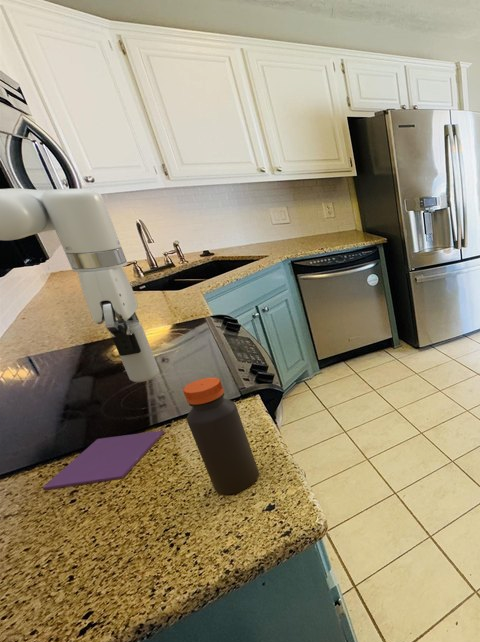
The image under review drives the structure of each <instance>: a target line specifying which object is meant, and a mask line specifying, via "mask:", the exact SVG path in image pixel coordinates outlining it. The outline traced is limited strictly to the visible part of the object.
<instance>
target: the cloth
mask: <svg viewBox="0 0 480 642" xmlns="http://www.w3.org/2000/svg"><path fill="white" fill-rule="evenodd" d="M164 434H165V430H155V431H149V432H141V433H140V432H139V433H132V434H125V435H118V436H109V437H102V438H96V439H95V440H94V442H92V443H91V444H90V445H89V446H88V447H87V448H85V449H84V450H83V451H82V452H81V453H80V454H79V455H77V457H76V458H74V459H73V460H72V461H71V462H69V464H67V466H65V467H64V468H63V469H61V470H60V471H59V472H58V473H57V474H56V475H55V476H54V477H52V479H50V480H49V481H48V482H47V483H46V484H45V485H44V486H42V490H43V491H48V490H54V489H62V488H69V487H75V486H81V485H89V484H95V483H101V482H108V481H115V480H122V479H124V478H125V477H126V475H128V473H129V472H130V471H131V470H132V469H133V468H134V467H135V466H136V464H137V463H139V461H140V460H141V459H142V458H143V457H144V456H145V454H146V453H148V451H149V450H150V449H151V448H152V447H153V446H154V445H155V444H156V443H157V441H158V440H159V439H160V438H161V437H162V436H163V435H164Z"/></svg>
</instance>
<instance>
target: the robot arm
mask: <svg viewBox="0 0 480 642" xmlns="http://www.w3.org/2000/svg"><path fill="white" fill-rule="evenodd" d="M50 231H55V234H56V235H57V237H58V240H59V242H60V245H61V247H62V249H63V251H64V254H65V255H66V259H67V261H68V263H69V265H70V268H71V270H72V271H73V272H75V273H77V275H78V280H79V284H80V287H81V291H82V294H83V297H84V300H85V302H86V305H87V307H88V310H89V311H88V312H89V313H90V316H91V318H92V322H93V323H94V324H96V325H102V324H103V323H104V325H105V328H106V329H107V330H108V332H109V334H110V336H111V338H112V342H113V343H114V346H115V348H116V351H117V353H118V355H119V357H120V356H125V355H130V354H136V353H140V352H141V349H140V346H139V344H138V341H137V339H136V336H135V334H134V333H133V334H132V332H131V329H130V326H129V322H128V320H138V321H139V322H140V320H139V317H138V316H137V313H136V311H137V310H138V301H137V298H136V295H135V292H134V289H133V287H132V284H131V282H130V280H129V277H128V275H127V274H126V271H125V269H124V267H127V266H128V264H129V263H128V261H127V258H126V255H125V252H124V250H123V248H122V245H121V243H120V240H119V237H118V234H117V231H116V229H115V226H114V223H113V221H112V218H111V216H110V213H109V210H108V207H107V205H106V202H105V199H104V198H103V195H102V194H101V193H100V192H99V191H97V190H95V189H92V188H59V189H58V188H55V189H48V190H47V189H46V190H43V189H33V188H32V189H30V188H17V187H14V188H12V187H11V188H0V241H14V240H20V239H25V238H26V237H29V236H33V235H37V234H40V233H45V232H50ZM118 323H123V325H124V327H123V326H122V325H118Z"/></svg>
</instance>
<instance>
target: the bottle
mask: <svg viewBox="0 0 480 642" xmlns="http://www.w3.org/2000/svg"><path fill="white" fill-rule="evenodd" d="M182 392H183V394H184V397H185V399H186V402H187V403H188V405H189V406H190V407H191V409H190V411H189V412H188V414H187V416H186V422H187V425H188V427H189V429H190V432H191V435H192V437H193V440H194V442H195V445H196V447H197V451H198V452H199V454H200V457H201V460H202V462H203V465H204V467H205V469H206V471H207V474H208V476H209V479H210V483H211V484H212V486H213V489H214V491H215V492H216V493H217V494H219V495H223V496H228V495H233V494H238V493H240V492H242V491H245V490H246V489H248V488H249V487H251V486H252V485H253V484H254V483H255V482H256V481H257V479H258V478H259V475H260V472H259V468H258V465H257V463H256V459H255V456H254V454H253V451H252V449H251V445H250V442H249V439H248V437H247V433H246V431H245V427H244V425H243V422H242V419H241V415H240V412H239V410H238V407H237V405H236V403H235V401H233V400H230V399H228V398H225V397H224V396H225V390H224V387H223V384H222V382H221V379H220V378H218V377H205V378H200V379H197V380H194V381H192V382H190V383H188V384H186V385H185V386H184V387H183V389H182Z"/></svg>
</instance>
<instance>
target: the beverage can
mask: <svg viewBox="0 0 480 642" xmlns="http://www.w3.org/2000/svg"><path fill="white" fill-rule="evenodd" d="M128 322H129V326H130V329H131V332H132V334H133V333H134V334H135V336H136V339H137V341H138V344H139V346H140V349H141V352H140V353H136V354H130V355H125V356H120V355H119V357H120V360H121V362H122V365H123V367H124V369H125V370H124V371H125V372H126V374H127V377H128V379H129V381H131V382H134V383H143V382H147V381H151V380H153V379H155V378H157V377H158V376H159V374H160V369H159V365H158V364H157V361H156V359H155V356H154V354H153V351H152V348H151V346H150V343H149V340H148V338H147V335H146V332H145V330H144V327H143V325H142V323H140V320H139V321H138V320H128ZM118 325H122V326H123V327H124V325H123V323H118Z"/></svg>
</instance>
